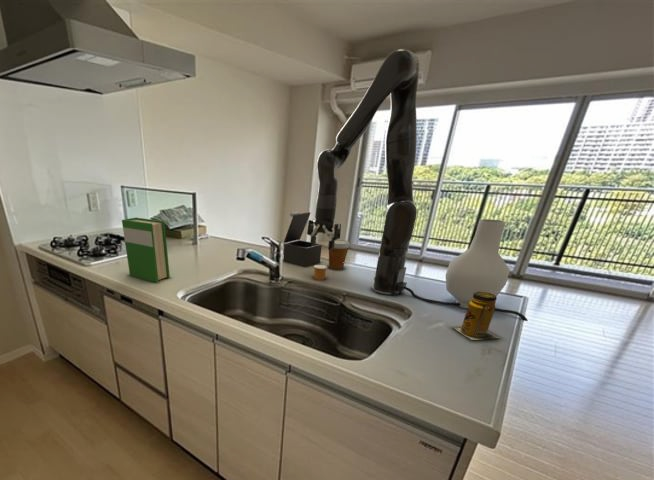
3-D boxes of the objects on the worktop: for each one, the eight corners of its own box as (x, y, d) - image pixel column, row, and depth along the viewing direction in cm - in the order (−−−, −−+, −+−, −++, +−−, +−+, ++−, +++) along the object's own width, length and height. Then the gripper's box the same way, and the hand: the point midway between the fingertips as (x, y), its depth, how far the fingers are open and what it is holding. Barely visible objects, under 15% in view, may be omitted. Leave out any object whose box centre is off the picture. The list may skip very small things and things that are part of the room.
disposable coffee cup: (321, 266, 158) (323, 240, 153) (337, 263, 162) (340, 238, 156) (334, 271, 150) (338, 245, 145) (351, 268, 154) (354, 242, 149)
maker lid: (310, 212, 160) (303, 207, 162) (294, 215, 153) (287, 210, 156) (300, 239, 169) (292, 234, 172) (284, 243, 163) (277, 237, 165)
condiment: (453, 328, 99) (464, 290, 94) (480, 327, 100) (492, 289, 95) (471, 340, 93) (484, 300, 88) (500, 338, 93) (514, 298, 88)
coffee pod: (328, 278, 142) (329, 266, 140) (320, 281, 139) (322, 269, 137) (318, 275, 146) (319, 264, 144) (310, 277, 143) (311, 266, 141)
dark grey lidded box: (320, 262, 164) (321, 244, 160) (305, 267, 157) (306, 248, 154) (298, 256, 173) (299, 239, 170) (283, 261, 167) (284, 243, 163)
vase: (498, 319, 105) (531, 227, 93) (437, 308, 112) (461, 223, 100) (493, 301, 117) (522, 219, 105) (439, 293, 125) (460, 215, 113)
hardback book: (169, 278, 146) (164, 221, 135) (156, 282, 140) (150, 223, 130) (142, 271, 155) (136, 217, 145) (129, 275, 150) (121, 219, 140)
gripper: (305, 205, 134) (302, 246, 141) (336, 209, 124) (331, 252, 131) (316, 204, 138) (313, 243, 145) (347, 207, 128) (342, 249, 135)
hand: (321, 247), depth 138 cm, fingers open, 8 cm apart
